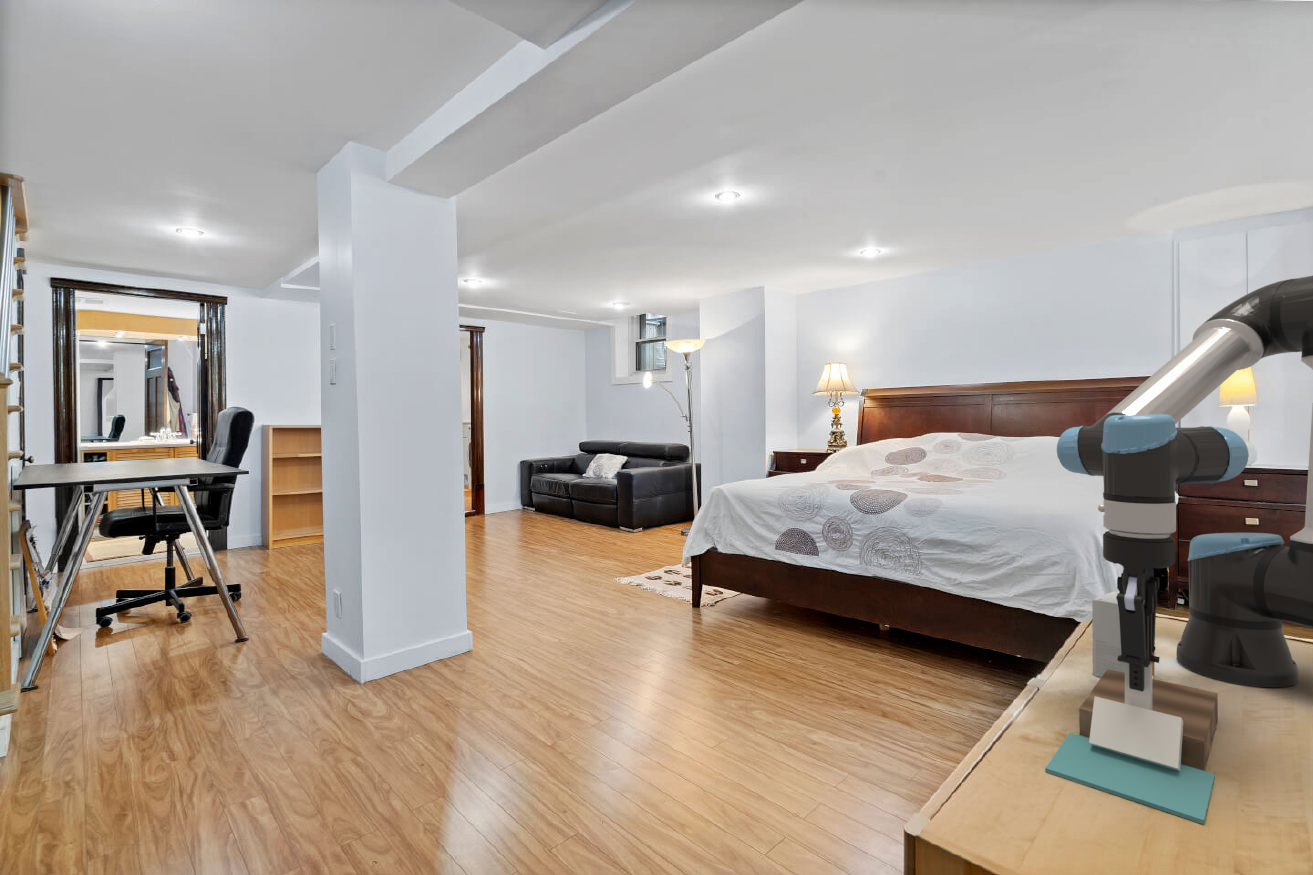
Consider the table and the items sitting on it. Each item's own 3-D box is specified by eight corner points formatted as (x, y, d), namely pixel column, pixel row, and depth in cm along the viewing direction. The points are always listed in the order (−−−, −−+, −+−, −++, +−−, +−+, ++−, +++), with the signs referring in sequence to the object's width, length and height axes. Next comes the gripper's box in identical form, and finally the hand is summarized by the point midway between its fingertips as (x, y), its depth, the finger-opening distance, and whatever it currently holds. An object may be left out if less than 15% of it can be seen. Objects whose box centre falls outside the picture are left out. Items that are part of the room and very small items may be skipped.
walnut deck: (1107, 693, 99) (1107, 668, 99) (1217, 720, 90) (1217, 692, 90) (1079, 736, 87) (1079, 708, 87) (1204, 772, 77) (1204, 740, 77)
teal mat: (1069, 735, 87) (1069, 732, 87) (1214, 777, 76) (1214, 773, 76) (1045, 771, 79) (1045, 767, 79) (1204, 824, 68) (1204, 820, 68)
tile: (1097, 699, 86) (1094, 696, 84) (1183, 721, 79) (1181, 717, 78) (1092, 745, 83) (1089, 742, 82) (1180, 771, 77) (1178, 768, 76)
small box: (1136, 688, 101) (1135, 607, 101) (1091, 675, 106) (1090, 598, 106) (1156, 675, 106) (1155, 598, 105) (1112, 663, 111) (1111, 590, 110)
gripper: (1113, 523, 90) (1114, 687, 90) (1092, 536, 80) (1092, 719, 81) (1182, 528, 84) (1182, 703, 85) (1167, 544, 75) (1167, 739, 76)
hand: (1138, 710), depth 83 cm, fingers closed
